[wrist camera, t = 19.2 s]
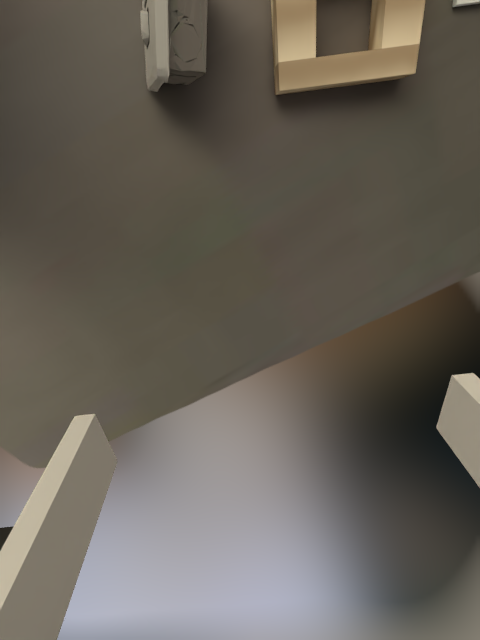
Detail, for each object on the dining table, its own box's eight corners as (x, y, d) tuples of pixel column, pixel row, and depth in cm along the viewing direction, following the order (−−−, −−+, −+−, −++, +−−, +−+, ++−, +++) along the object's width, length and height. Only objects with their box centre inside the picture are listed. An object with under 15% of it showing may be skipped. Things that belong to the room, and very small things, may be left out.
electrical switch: (140, -50, 25) (117, -135, 17) (204, -38, 26) (210, -113, 18) (147, 92, 30) (132, 76, 22) (202, 98, 31) (205, 85, 23)
